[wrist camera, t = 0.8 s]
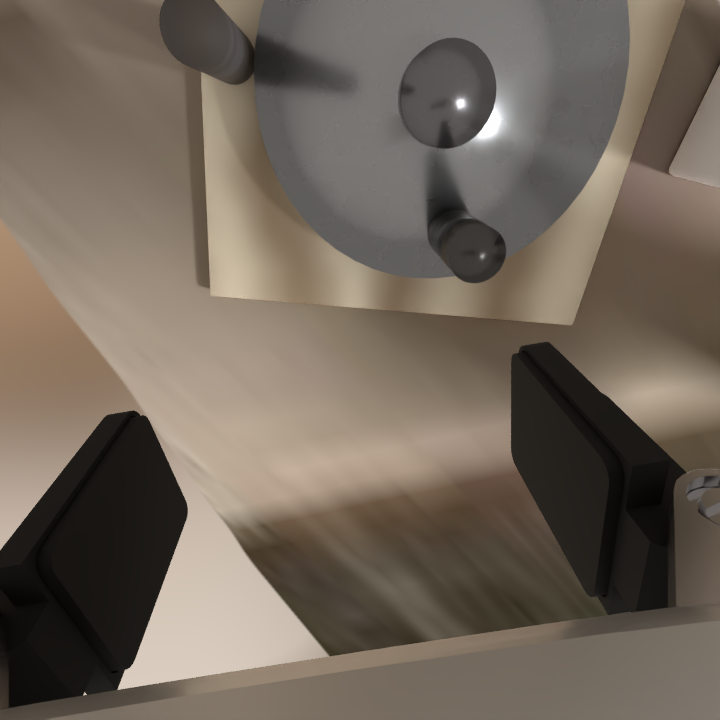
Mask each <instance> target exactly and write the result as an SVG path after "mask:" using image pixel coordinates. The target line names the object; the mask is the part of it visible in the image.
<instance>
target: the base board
mask: <svg viewBox="0 0 720 720" xmlns="http://www.w3.org/2000/svg"><path fill="white" fill-rule="evenodd" d="M685 1H686V0H627V2H628V10H629V27H630V48H629V66H628V72H627V78H626V85H625V91H624V96H623V100H622V103H621V107H620V111H619V114H618V118H617V122H616V124H615V127H614V129H613V132H612V135H611V137H610V140H609V142H608V145H607V147H606V149H605V151H604V153H603V155H602V157H601V159H600V161H599V163H598V165H597V167H596V169H595V171H594V172H593V174H592V176H591V177H590V179H589V180H588V182H587V183H586V185H585V187H584V188H583V190H582V191H581V193H580V194H579V195H578V196H577V198H576V199H575V200H574V201H573V203H572V204H571V205H570V206H569V208H568V209H567V210H566V211H565V212H564V213H563V214H562V215H561V216H560V217H559V219H558V220H557V221H556V222H555V223H554V224H553V225H552V226H551V227H550V228H549V229H547V230H546V231H545V232H544V233H543V234H541V235H540V236H539V237H538V238H536V239H535V240H534V241H533V242H532V243H530V244H529V245H527V246H525V247H524V248H522V249H521V250H519V251H518V252H516V253H515V254H513V255H511V256H509V257H507V258H505V261H504V263H503V265H502V267H501V269H500V270H499V271H498V272H497V273H496V274H495V275H494V276H493V277H492V278H490V279H488V280H486V281H484V282H481V283H467V282H464V281H462V280H460V279H459V278H458V277H456V276H453V277H443V278H410V277H403V276H397V275H392V274H388V273H385V272H382V271H378V270H375V269H372V268H370V267H368V266H365V265H363V264H361V263H359V262H356V261H354V260H353V259H351V258H349V257H348V256H346V255H344V254H343V253H341V252H340V251H338V250H336V249H335V248H334V247H333V246H331V245H330V244H329V243H328V242H326V241H325V240H324V239H323V238H322V237H320V236H319V235H318V234H317V233H316V232H315V231H314V230H313V229H312V227H311V226H310V225H309V224H308V223H307V222H306V221H305V220H304V219H303V218H302V216H301V215H300V214H299V212H298V211H297V210H296V208H295V207H294V206H293V204H292V203H291V202H290V200H289V198H288V197H287V195H286V193H285V191H284V190H283V188H282V186H281V184H280V182H279V181H278V179H277V177H276V174H275V172H274V169H273V167H272V165H271V162H270V160H269V158H268V155H267V152H266V148H265V145H264V141H263V138H262V134H261V131H260V126H259V120H258V114H257V108H256V102H255V86H254V60H255V43H256V36H257V31H258V25H259V19H260V14H261V9H262V6H263V2H264V0H165V1H164V3H163V5H162V8H161V12H160V30H161V34H162V37H163V40H164V42H165V44H166V46H167V48H168V49H169V51H170V52H171V53H172V55H173V56H174V57H175V58H176V59H178V60H179V61H180V62H182V63H183V64H185V65H187V66H189V67H191V68H194V69H196V70H198V71H200V72H201V88H202V111H203V135H204V158H205V181H206V204H207V227H208V251H209V274H210V296H219V297H231V298H243V299H255V300H268V301H280V302H292V303H304V304H317V305H329V306H341V307H353V308H366V309H378V310H390V311H402V312H414V313H427V314H439V315H451V316H463V317H476V318H488V319H500V320H512V321H525V322H537V323H549V324H561V325H573V322H574V319H575V317H576V314H577V311H578V308H579V305H580V302H581V299H582V296H583V294H584V291H585V288H586V285H587V282H588V279H589V276H590V274H591V271H592V268H593V265H594V262H595V259H596V256H597V254H598V251H599V248H600V245H601V242H602V239H603V236H604V233H605V231H606V228H607V225H608V222H609V219H610V216H611V213H612V211H613V208H614V205H615V202H616V199H617V196H618V193H619V191H620V188H621V185H622V182H623V179H624V176H625V173H626V170H627V168H628V165H629V162H630V159H631V156H632V153H633V150H634V148H635V145H636V142H637V139H638V136H639V133H640V130H641V128H642V125H643V122H644V119H645V116H646V113H647V110H648V107H649V105H650V102H651V99H652V96H653V93H654V90H655V87H656V85H657V82H658V79H659V76H660V73H661V70H662V67H663V64H664V62H665V59H666V56H667V53H668V50H669V47H670V44H671V42H672V39H673V36H674V33H675V30H676V27H677V24H678V22H679V19H680V16H681V13H682V10H683V7H684V4H685Z"/></svg>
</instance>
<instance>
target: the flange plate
mask: <svg viewBox="0 0 720 720" xmlns="http://www.w3.org/2000/svg"><path fill="white" fill-rule="evenodd" d="M629 48H630V27H629V10H628V2H627V0H264V2H263V6H262V9H261V14H260V19H259V25H258V31H257V36H256V43H255V60H254V86H255V102H256V108H257V114H258V120H259V126H260V131H261V134H262V138H263V141H264V145H265V148H266V152H267V155H268V158H269V160H270V162H271V165H272V167H273V169H274V172H275V174H276V177H277V179H278V181H279V182H280V184H281V186H282V188H283V190H284V191H285V193H286V195H287V197H288V198H289V200H290V202H291V203H292V204H293V206H294V207H295V208H296V210H297V211H298V212H299V214H300V215H301V216H302V218H303V219H304V220H305V221H306V222H307V223H308V224H309V225H310V226H311V227H312V229H313V230H314V231H315V232H316V233H317V234H318V235H319V236H320V237H322V238H323V239H324V240H325V241H326V242H328V243H329V244H330V245H331V246H333V247H334V248H335V249H336V250H338V251H340V252H341V253H343V254H344V255H346V256H348V257H349V258H351V259H353V260H354V261H356V262H359V263H361V264H363V265H365V266H368V267H370V268H372V269H375V270H378V271H382V272H385V273H388V274H392V275H397V276H403V277H410V278H443V277H453V276H456V277H458V278H459V279H460V280H462V281H464V282H467V283H481V282H484V281H486V280H488V279H490V278H492V277H493V276H494V275H495V274H496V273H497V272H498V271H499V270H500V269H501V267H502V265H503V263H504V261H505V258H507V257H509V256H511V255H513V254H515V253H516V252H518V251H519V250H521V249H522V248H524V247H525V246H527V245H529V244H530V243H532V242H533V241H534V240H535V239H536V238H538V237H539V236H540V235H541V234H543V233H544V232H545V231H546V230H547V229H549V228H550V227H551V226H552V225H553V224H554V223H555V222H556V221H557V220H558V219H559V217H560V216H561V215H562V214H563V213H564V212H565V211H566V210H567V209H568V208H569V206H570V205H571V204H572V203H573V201H574V200H575V199H576V198H577V196H578V195H579V194H580V193H581V191H582V190H583V188H584V187H585V185H586V183H587V182H588V180H589V179H590V177H591V176H592V174H593V172H594V171H595V169H596V167H597V165H598V163H599V161H600V159H601V157H602V155H603V153H604V151H605V149H606V147H607V145H608V142H609V140H610V137H611V135H612V132H613V129H614V127H615V124H616V122H617V118H618V114H619V111H620V107H621V103H622V100H623V96H624V91H625V85H626V78H627V72H628V66H629Z"/></svg>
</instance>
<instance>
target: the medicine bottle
mask: <svg viewBox="0 0 720 720" xmlns="http://www.w3.org/2000/svg"><path fill="white" fill-rule="evenodd" d="M669 174H671V175H672V176H675V177H679V178H683V179H687V180H690V181H694V182H698V183H702V184H706V185H709V186H713V187H717V188H720V65H719V67H718V69H717V71H716V73H715V75H714V77H713V80H712V82H711V84H710V86H709V88H708V90H707V92H706V94H705V96H704V98H703V100H702V102H701V104H700V106H699V108H698V110H697V112H696V114H695V116H694V118H693V120H692V123H691V125H690V127H689V129H688V131H687V133H686V135H685V137H684V139H683V141H682V143H681V145H680V147H679V149H678V151H677V153H676V155H675V157H674V159H673V161H672V163H671V166H670V168H669Z"/></svg>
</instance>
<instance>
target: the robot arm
mask: <svg viewBox="0 0 720 720" xmlns="http://www.w3.org/2000/svg"><path fill="white" fill-rule="evenodd" d="M511 452H512V457H513V460H514V463H515V465H516V467H517V469H518V471H519V473H520V475H521V476H522V478H523V480H524V482H525V484H526V485H527V487H528V489H529V491H530V493H531V494H532V496H533V498H534V500H535V502H536V503H537V505H538V507H539V509H540V511H541V512H542V514H543V516H544V518H545V520H546V522H547V523H548V525H549V527H550V529H551V531H552V532H553V534H554V536H555V538H556V540H557V541H558V543H559V545H560V547H561V549H562V550H563V552H564V554H565V556H566V558H567V559H568V561H569V563H570V565H571V567H572V568H573V570H574V572H575V574H576V576H577V578H578V579H579V581H580V583H581V585H582V587H583V588H584V590H585V592H586V593H587V594H588V595H589V596H591V597H594V596H597V597H598V598H599V600H600V602H601V603H602V605H603V607H604V609H605V610H606V612H607V614H608V615H609V616H601V617H594V618H586V619H578V620H571V621H563V622H556V623H550V624H543V625H536V626H530V627H523V628H516V629H509V630H503V631H496V632H489V633H483V634H476V635H469V636H463V637H456V638H449V639H442V640H436V641H429V642H422V643H416V644H409V645H402V646H396V647H389V648H383V649H376V650H370V651H363V652H357V653H350V654H344V655H337V656H331V657H325V658H318V659H311V660H305V661H299V662H292V663H286V664H279V665H273V666H266V667H260V668H254V669H247V670H241V671H235V672H228V673H221V674H215V675H208V676H202V677H196V678H190V679H184V680H177V681H171V682H165V683H159V684H153V685H147V686H140V687H134V688H128V689H121V690H117V689H118V686H119V684H120V681H121V678H122V676H123V673H124V670H125V669H128V668H130V667H131V665H132V664H133V662H134V660H135V658H136V655H137V652H138V649H139V647H140V644H141V641H142V639H143V636H144V633H145V630H146V627H147V625H148V622H149V620H150V617H151V614H152V611H153V609H154V606H155V603H156V600H157V598H158V595H159V592H160V590H161V587H162V584H163V581H164V579H165V576H166V573H167V571H168V568H169V565H170V562H171V560H172V557H173V554H174V551H175V549H176V546H177V543H178V540H179V538H180V535H181V532H182V530H183V527H184V524H185V521H186V518H187V513H188V508H187V503H186V500H185V498H184V496H183V494H182V492H181V489H180V487H179V486H178V483H177V481H176V478H175V476H174V474H173V472H172V470H171V467H170V465H169V463H168V461H167V459H166V456H165V454H164V452H163V450H162V448H161V445H160V443H159V441H158V439H157V437H156V434H155V432H154V430H153V428H152V426H151V423H150V421H149V420H148V418H147V417H146V416H144V415H142V416H140V414H139V413H137V412H136V411H128V412H123V413H116V414H110V415H107V416H106V417H104V419H103V420H102V421H101V422H100V424H99V425H98V426H97V427H96V429H95V430H94V431H93V433H92V434H91V435H90V436H89V438H88V439H87V440H86V442H85V443H84V444H83V445H82V447H81V448H80V449H79V450H78V452H77V453H76V454H75V456H74V457H73V458H72V459H71V461H70V462H69V463H68V465H67V466H66V467H65V468H64V470H63V471H62V472H61V474H60V475H59V476H58V477H57V479H56V480H55V481H54V482H53V484H52V485H51V486H50V488H49V489H48V490H47V491H46V493H45V494H44V495H43V497H42V498H41V499H40V500H39V502H38V503H37V504H36V505H35V507H34V508H33V509H32V511H31V512H30V513H29V514H28V516H27V517H26V518H25V519H24V521H23V522H22V524H21V525H20V526H19V527H18V528H17V530H16V531H15V532H14V534H13V535H12V536H11V537H10V539H9V540H8V541H7V543H6V544H5V545H4V546H3V548H2V549H1V550H0V720H720V470H718V469H700V470H694V471H691V472H688V473H687V472H685V471H684V470H683V469H682V468H681V467H680V466H679V465H678V464H677V463H676V462H675V461H674V460H673V459H672V458H671V457H670V456H669V455H668V454H667V453H666V452H665V451H664V450H663V449H662V448H660V447H659V446H658V445H657V444H656V443H655V442H654V441H653V440H652V439H651V438H650V437H649V436H648V435H647V434H646V433H645V432H644V431H643V430H642V429H641V428H640V427H639V426H638V425H637V424H636V423H634V422H633V421H632V420H631V419H630V418H629V417H628V416H627V415H626V414H625V413H624V412H623V411H622V410H621V409H620V408H619V407H618V406H617V405H616V404H615V403H614V402H613V401H612V400H611V399H610V398H608V397H607V396H606V395H604V394H603V393H601V392H600V391H599V390H598V389H597V388H596V387H595V386H594V385H593V384H592V383H591V382H590V381H589V380H588V379H586V378H585V377H584V376H583V375H582V374H581V373H580V372H579V371H578V370H577V369H576V368H575V367H574V366H573V365H572V364H571V363H570V362H569V361H568V360H567V359H566V358H565V357H564V356H563V355H562V354H561V353H560V352H559V351H558V350H557V349H556V348H555V347H553V346H552V345H551V344H550V343H549V342H544V343H538V344H532V345H526V346H521V348H520V350H519V353H517V354H513V355H512V361H511ZM629 611H631V613H624V614H617V613H623V612H629ZM610 614H617V615H610ZM84 692H85V693H86V694H87V695H84V696H83V694H84Z"/></svg>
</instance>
